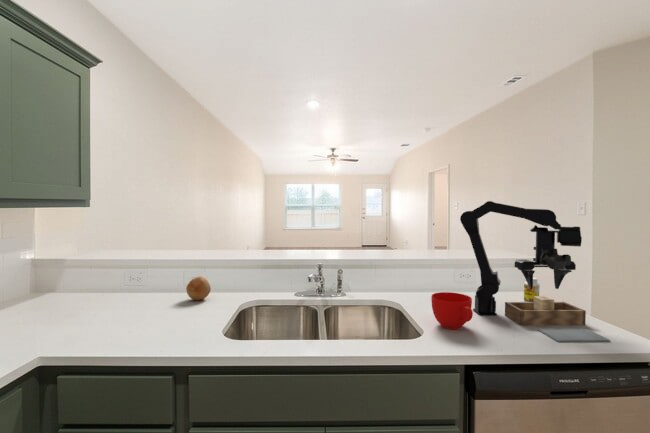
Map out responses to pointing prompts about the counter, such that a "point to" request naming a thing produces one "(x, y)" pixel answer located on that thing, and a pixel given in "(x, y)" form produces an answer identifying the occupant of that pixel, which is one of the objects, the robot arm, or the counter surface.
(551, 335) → the slate mat
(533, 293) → the supplement bottle
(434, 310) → the ceramic cup
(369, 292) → the counter surface
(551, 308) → the maple block
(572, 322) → the walnut crate
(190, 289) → the onion
